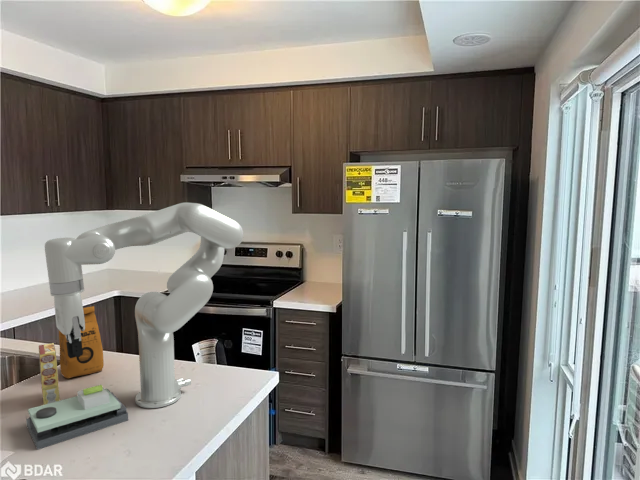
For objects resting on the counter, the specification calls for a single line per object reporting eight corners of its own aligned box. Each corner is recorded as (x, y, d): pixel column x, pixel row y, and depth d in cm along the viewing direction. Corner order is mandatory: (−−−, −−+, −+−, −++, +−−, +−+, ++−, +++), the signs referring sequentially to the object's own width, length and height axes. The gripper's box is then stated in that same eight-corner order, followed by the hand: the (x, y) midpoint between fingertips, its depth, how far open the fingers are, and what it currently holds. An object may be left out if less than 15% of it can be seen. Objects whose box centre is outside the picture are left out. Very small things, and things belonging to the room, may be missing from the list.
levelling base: (111, 401, 133) (111, 390, 132) (128, 420, 122) (127, 408, 122) (26, 425, 119) (25, 414, 119) (37, 449, 109) (36, 437, 108)
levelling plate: (108, 391, 131) (107, 374, 130) (122, 407, 122) (121, 388, 121) (28, 413, 118) (27, 394, 118) (37, 432, 109) (36, 412, 109)
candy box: (60, 403, 132) (56, 351, 130) (43, 406, 129) (39, 354, 127) (57, 391, 139) (54, 342, 137) (41, 394, 137) (37, 345, 135)
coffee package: (106, 373, 152) (103, 308, 150) (64, 382, 145) (59, 315, 142) (99, 363, 160) (95, 302, 157) (58, 372, 153) (54, 307, 150)
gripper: (44, 284, 119) (52, 351, 122) (57, 295, 108) (66, 369, 111) (75, 279, 124) (83, 344, 127) (91, 289, 113) (99, 360, 116)
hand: (75, 355), depth 119 cm, fingers closed
